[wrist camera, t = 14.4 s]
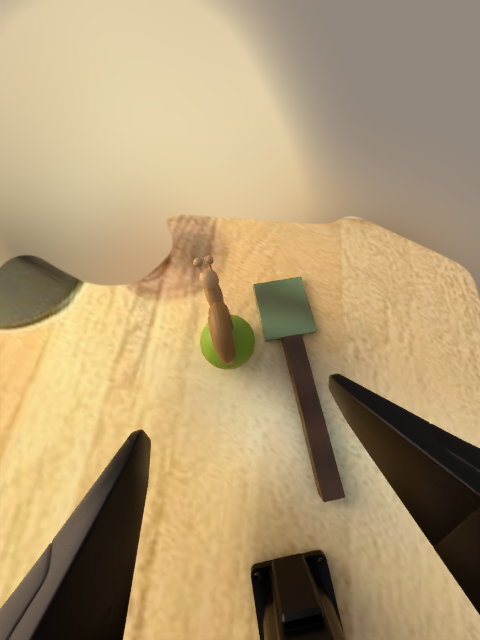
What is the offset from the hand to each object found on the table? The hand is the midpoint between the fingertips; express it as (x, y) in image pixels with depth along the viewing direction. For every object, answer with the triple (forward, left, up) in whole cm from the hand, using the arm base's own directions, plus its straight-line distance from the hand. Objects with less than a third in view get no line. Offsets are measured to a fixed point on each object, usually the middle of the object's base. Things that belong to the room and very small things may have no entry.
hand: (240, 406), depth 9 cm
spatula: (+1, -7, -12) cm, 14 cm away
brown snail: (+5, +1, -12) cm, 13 cm away
